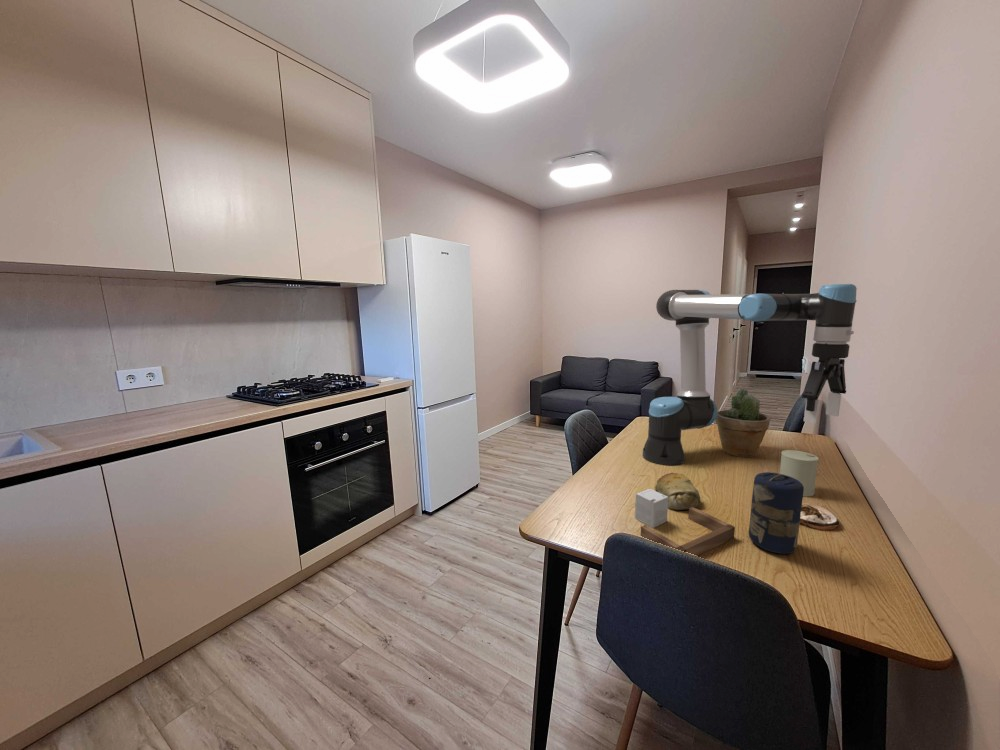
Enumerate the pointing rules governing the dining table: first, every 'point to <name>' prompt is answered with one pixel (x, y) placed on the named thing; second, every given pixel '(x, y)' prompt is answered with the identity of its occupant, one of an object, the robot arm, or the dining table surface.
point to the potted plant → (742, 425)
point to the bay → (702, 544)
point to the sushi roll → (817, 517)
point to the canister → (776, 512)
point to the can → (800, 468)
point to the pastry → (678, 491)
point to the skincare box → (651, 507)
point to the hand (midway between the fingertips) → (821, 418)
